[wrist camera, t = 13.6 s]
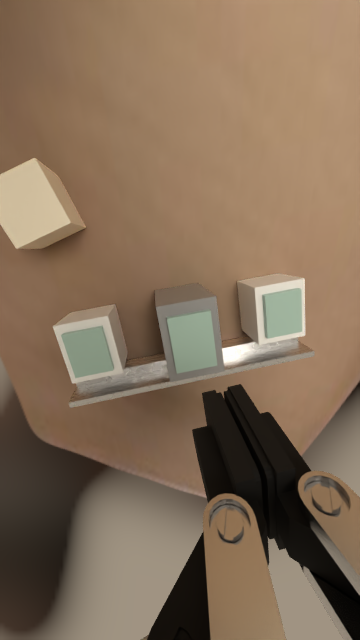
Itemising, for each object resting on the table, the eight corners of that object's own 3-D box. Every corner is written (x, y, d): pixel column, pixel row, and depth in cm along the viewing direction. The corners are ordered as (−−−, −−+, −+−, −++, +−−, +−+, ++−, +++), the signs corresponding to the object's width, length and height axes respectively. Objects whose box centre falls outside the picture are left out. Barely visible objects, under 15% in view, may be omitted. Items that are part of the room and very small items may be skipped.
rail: (79, 370, 29) (65, 394, 24) (288, 327, 30) (314, 342, 25) (84, 384, 29) (71, 411, 24) (289, 342, 31) (314, 359, 26)
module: (154, 290, 27) (155, 308, 19) (198, 282, 27) (217, 297, 19) (165, 347, 29) (170, 385, 21) (205, 339, 29) (226, 373, 21)
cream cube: (11, 199, 23) (-25, 186, 18) (58, 176, 23) (34, 157, 18) (42, 248, 25) (16, 248, 20) (86, 227, 25) (71, 222, 20)
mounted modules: (70, 312, 27) (50, 328, 21) (278, 273, 28) (308, 279, 23) (85, 360, 28) (70, 386, 23) (280, 321, 30) (308, 337, 25)
